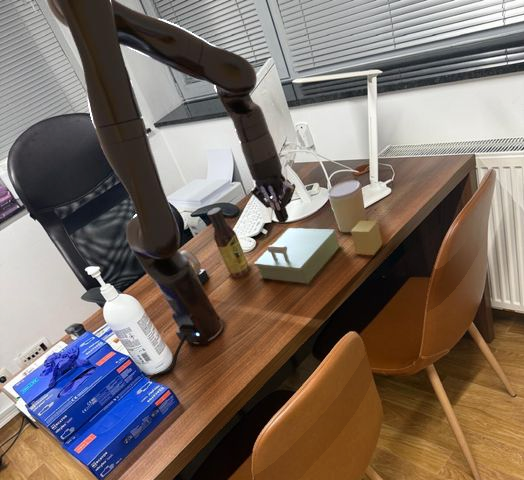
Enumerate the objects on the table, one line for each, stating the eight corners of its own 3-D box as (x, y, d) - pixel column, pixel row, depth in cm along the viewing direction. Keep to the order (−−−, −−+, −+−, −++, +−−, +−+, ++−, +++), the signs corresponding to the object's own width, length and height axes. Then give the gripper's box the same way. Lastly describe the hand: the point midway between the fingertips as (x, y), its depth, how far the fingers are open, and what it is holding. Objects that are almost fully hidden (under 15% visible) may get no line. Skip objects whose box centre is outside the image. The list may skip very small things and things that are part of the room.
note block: (374, 257, 115) (368, 231, 111) (356, 256, 118) (350, 231, 114) (382, 246, 117) (377, 220, 113) (365, 245, 121) (359, 220, 116)
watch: (195, 276, 141) (179, 246, 135) (213, 278, 136) (197, 247, 130) (183, 287, 139) (167, 257, 132) (201, 289, 134) (185, 258, 127)
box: (308, 285, 116) (302, 268, 113) (263, 279, 126) (256, 264, 123) (340, 249, 124) (335, 232, 120) (295, 246, 134) (289, 230, 130)
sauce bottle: (248, 276, 130) (220, 214, 118) (228, 280, 132) (200, 220, 120) (252, 264, 135) (226, 203, 122) (233, 268, 137) (206, 208, 125)
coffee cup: (374, 217, 130) (366, 178, 122) (362, 235, 125) (352, 195, 118) (345, 219, 135) (335, 181, 128) (331, 236, 130) (321, 198, 123)
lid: (301, 270, 112) (295, 253, 109) (254, 265, 122) (248, 250, 119) (335, 232, 120) (331, 215, 117) (289, 230, 130) (284, 214, 127)
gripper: (231, 164, 107) (256, 228, 118) (273, 160, 99) (296, 229, 110) (249, 149, 111) (272, 213, 122) (292, 144, 103) (312, 213, 113)
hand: (283, 221), depth 116 cm, fingers closed
